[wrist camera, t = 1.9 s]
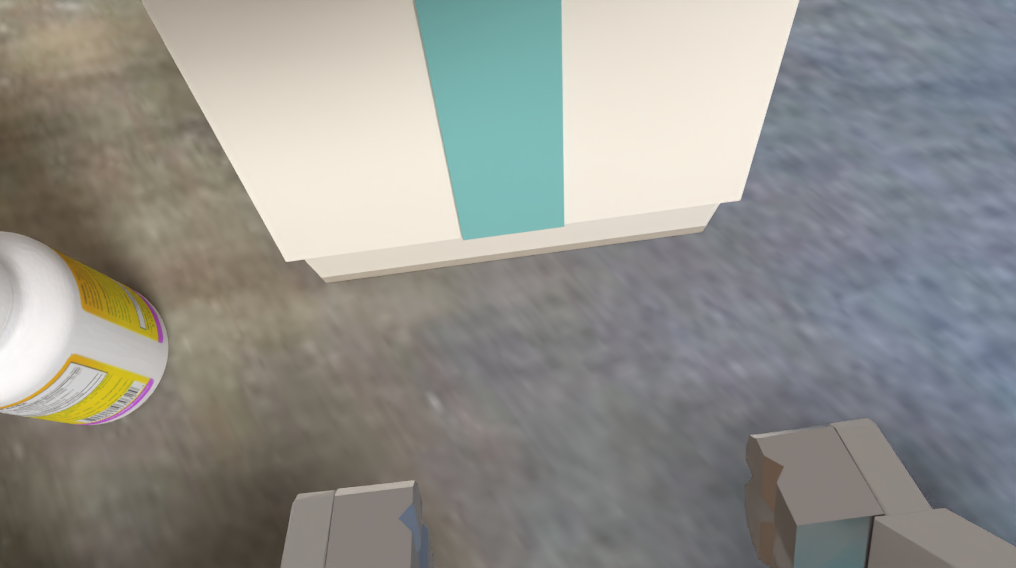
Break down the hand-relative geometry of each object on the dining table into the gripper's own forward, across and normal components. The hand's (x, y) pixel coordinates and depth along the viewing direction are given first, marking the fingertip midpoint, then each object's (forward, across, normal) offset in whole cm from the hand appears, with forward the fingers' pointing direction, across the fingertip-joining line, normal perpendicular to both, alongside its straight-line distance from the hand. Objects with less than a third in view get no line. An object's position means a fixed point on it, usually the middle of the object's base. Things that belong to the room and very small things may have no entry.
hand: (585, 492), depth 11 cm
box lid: (+20, 0, +2) cm, 20 cm away
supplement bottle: (+28, +20, +14) cm, 37 cm away
